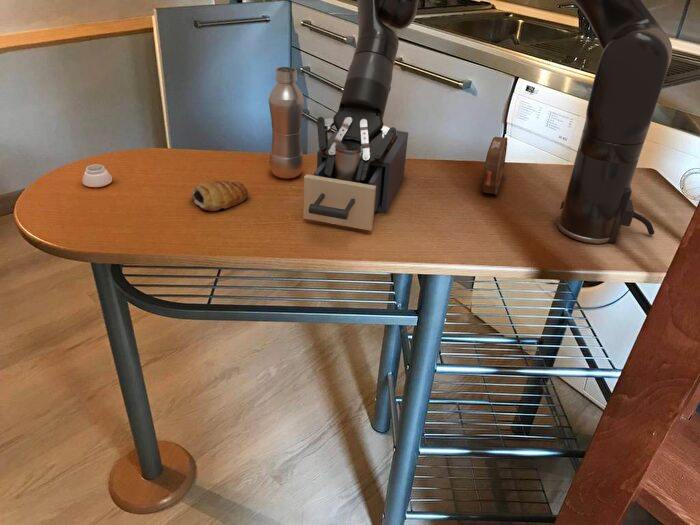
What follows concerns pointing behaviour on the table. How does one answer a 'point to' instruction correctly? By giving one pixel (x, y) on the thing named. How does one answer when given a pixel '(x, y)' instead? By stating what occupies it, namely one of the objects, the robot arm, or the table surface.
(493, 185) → the tin
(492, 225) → the table surface
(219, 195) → the pastry
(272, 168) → the metallic bottle
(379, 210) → the cabinet
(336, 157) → the steel cylinder
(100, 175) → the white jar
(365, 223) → the drawer
